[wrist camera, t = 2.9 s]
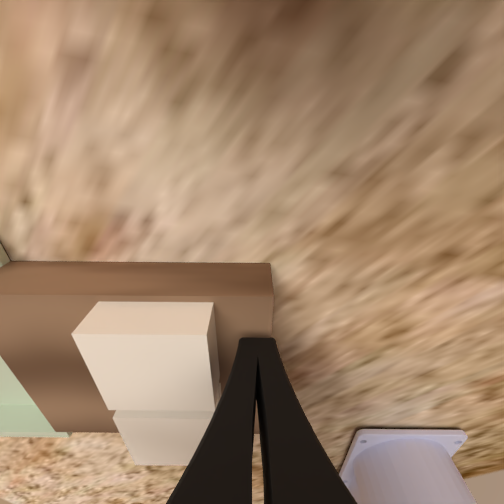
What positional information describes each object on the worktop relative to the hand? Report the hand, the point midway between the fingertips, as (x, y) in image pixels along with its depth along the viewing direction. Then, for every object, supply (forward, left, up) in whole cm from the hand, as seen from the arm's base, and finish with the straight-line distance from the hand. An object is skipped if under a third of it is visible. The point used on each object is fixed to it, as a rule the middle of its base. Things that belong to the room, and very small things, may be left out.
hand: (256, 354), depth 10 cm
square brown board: (-3, +5, -3) cm, 7 cm away
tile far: (-5, +4, -1) cm, 6 cm away
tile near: (0, +4, -1) cm, 4 cm away
